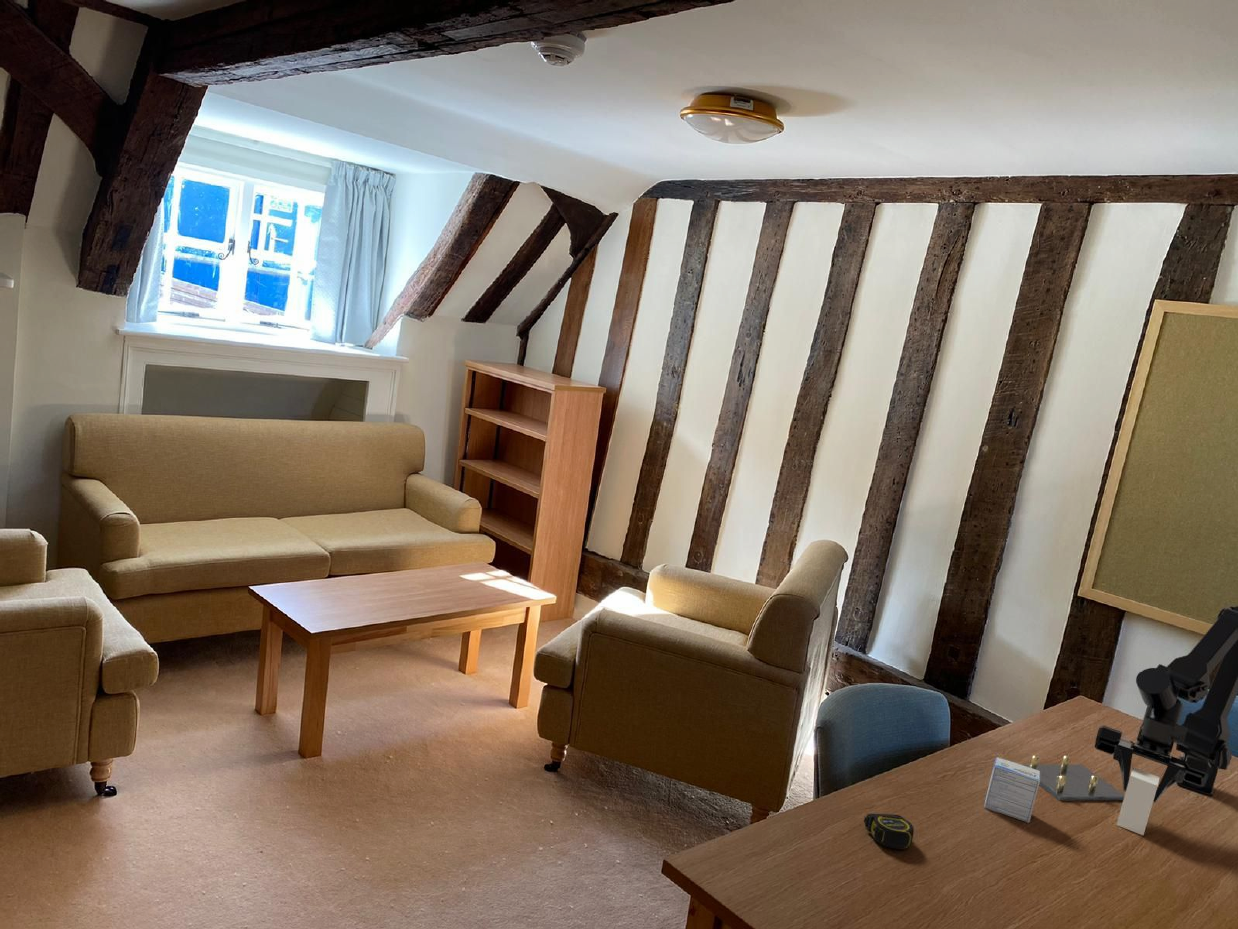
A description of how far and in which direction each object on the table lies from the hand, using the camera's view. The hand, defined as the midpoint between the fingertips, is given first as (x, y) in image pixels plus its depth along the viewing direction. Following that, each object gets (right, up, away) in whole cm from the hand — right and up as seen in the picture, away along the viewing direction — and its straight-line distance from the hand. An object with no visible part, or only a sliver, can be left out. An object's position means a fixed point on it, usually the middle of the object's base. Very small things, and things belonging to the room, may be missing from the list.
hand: (1139, 796), depth 176 cm
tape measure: (-51, -2, -16) cm, 53 cm away
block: (0, -6, +2) cm, 7 cm away
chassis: (-5, -3, +16) cm, 17 cm away
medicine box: (-24, -3, 0) cm, 24 cm away
